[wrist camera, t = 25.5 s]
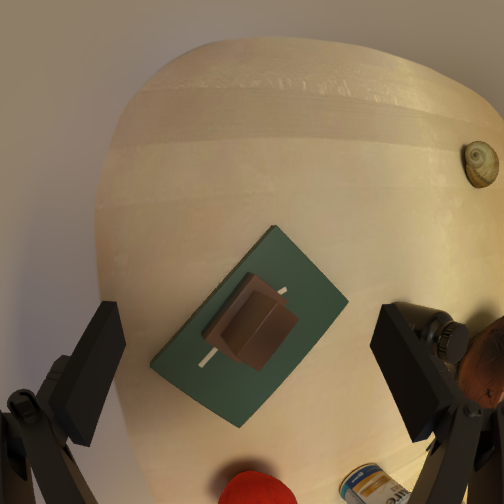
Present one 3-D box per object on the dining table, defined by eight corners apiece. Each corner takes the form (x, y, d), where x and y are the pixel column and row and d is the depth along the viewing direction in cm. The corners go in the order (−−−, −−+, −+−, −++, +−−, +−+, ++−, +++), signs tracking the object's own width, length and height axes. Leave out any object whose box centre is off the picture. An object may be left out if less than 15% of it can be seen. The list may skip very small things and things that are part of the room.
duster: (234, 356, 33) (259, 389, 25) (200, 333, 32) (216, 362, 24) (279, 296, 34) (316, 313, 26) (247, 271, 33) (278, 281, 25)
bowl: (420, 355, 43) (495, 383, 29) (494, 278, 49) (556, 286, 35) (434, 445, 47) (486, 476, 33) (500, 371, 53) (549, 387, 39)
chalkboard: (149, 363, 32) (149, 367, 31) (272, 225, 35) (276, 224, 34) (236, 423, 35) (239, 428, 34) (343, 300, 38) (349, 301, 37)
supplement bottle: (412, 297, 42) (477, 311, 30) (409, 342, 42) (470, 364, 31) (377, 303, 40) (445, 321, 28) (374, 352, 40) (436, 380, 29)
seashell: (467, 170, 51) (488, 141, 46) (489, 196, 48) (513, 166, 42) (446, 163, 47) (471, 129, 41) (472, 192, 43) (499, 158, 37)
